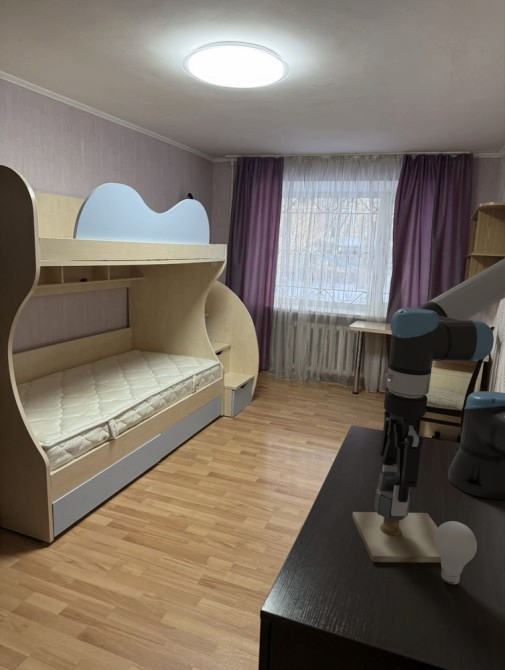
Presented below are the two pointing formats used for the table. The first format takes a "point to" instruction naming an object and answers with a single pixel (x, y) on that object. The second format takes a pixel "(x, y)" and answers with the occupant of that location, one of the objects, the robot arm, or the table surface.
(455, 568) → the light bulb
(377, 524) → the socket base
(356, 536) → the table surface
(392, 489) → the dark grey rounded piece
